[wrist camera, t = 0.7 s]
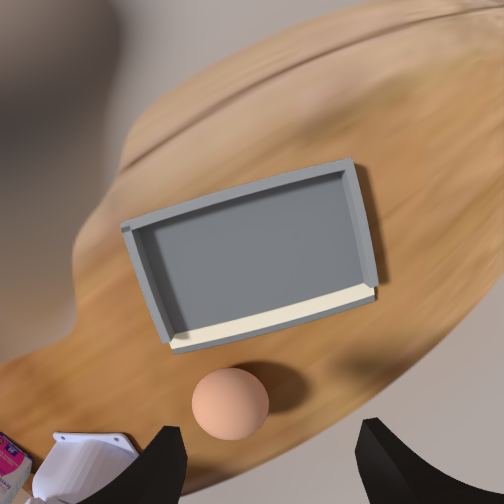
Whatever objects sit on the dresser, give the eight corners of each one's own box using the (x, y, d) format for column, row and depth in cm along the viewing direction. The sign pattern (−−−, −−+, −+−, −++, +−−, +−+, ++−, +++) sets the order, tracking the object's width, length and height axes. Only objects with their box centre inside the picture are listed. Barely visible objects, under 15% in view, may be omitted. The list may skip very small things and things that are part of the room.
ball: (210, 413, 21) (204, 459, 16) (187, 362, 20) (173, 405, 15) (273, 401, 21) (279, 446, 16) (256, 346, 20) (258, 389, 15)
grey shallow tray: (175, 351, 20) (171, 363, 19) (129, 221, 18) (119, 223, 17) (372, 298, 20) (381, 306, 18) (343, 160, 18) (352, 157, 16)
